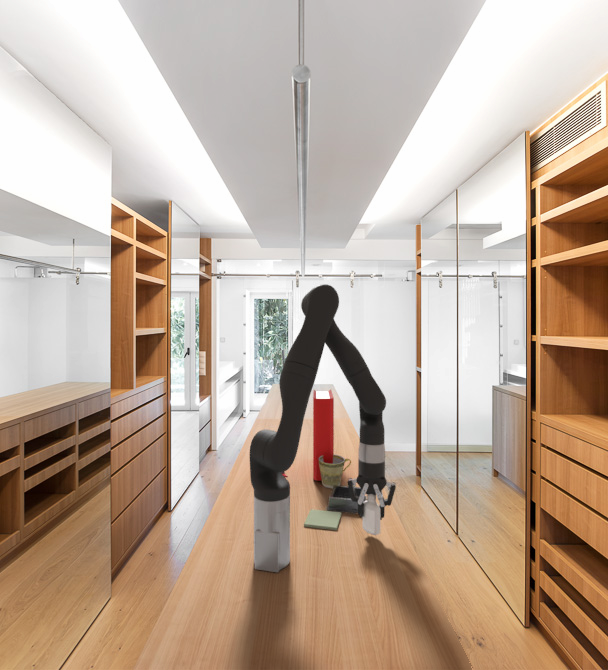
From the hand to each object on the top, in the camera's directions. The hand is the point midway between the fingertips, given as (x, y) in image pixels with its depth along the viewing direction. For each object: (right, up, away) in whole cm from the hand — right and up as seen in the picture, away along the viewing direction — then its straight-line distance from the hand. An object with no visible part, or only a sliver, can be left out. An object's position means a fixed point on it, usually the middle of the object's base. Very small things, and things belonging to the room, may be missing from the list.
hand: (371, 517), depth 112 cm
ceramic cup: (-7, -5, +38) cm, 39 cm away
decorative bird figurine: (-28, -6, +38) cm, 48 cm away
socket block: (-4, -6, +21) cm, 22 cm away
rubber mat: (-13, -6, +10) cm, 18 cm away
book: (-11, -5, +54) cm, 56 cm away
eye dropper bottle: (0, -4, 0) cm, 4 cm away
